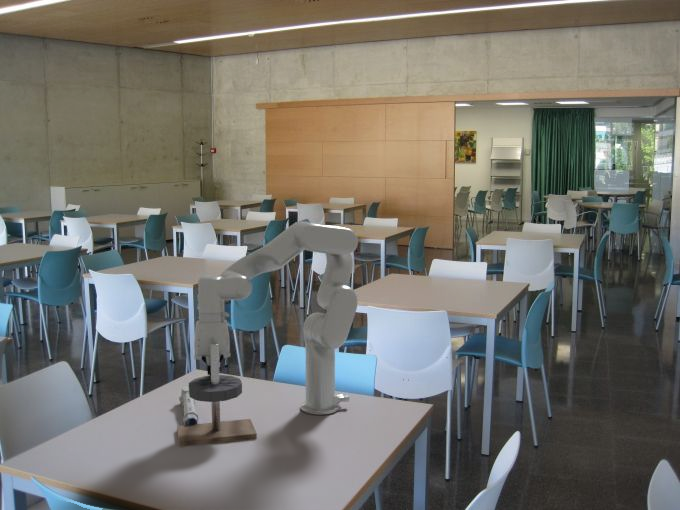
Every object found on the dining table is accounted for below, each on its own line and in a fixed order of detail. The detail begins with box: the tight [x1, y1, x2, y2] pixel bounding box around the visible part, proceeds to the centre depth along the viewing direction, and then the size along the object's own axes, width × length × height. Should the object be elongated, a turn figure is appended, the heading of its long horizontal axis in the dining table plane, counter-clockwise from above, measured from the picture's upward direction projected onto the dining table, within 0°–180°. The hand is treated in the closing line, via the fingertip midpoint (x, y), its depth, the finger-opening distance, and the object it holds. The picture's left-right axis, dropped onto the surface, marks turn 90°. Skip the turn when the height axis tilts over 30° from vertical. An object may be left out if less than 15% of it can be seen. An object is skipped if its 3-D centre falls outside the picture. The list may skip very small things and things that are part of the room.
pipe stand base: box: [176, 418, 258, 448], centre depth 208 cm, size 22×12×2 cm, turn 106°
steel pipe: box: [210, 343, 221, 431], centre depth 206 cm, size 3×3×26 cm
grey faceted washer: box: [188, 374, 243, 403], centre depth 206 cm, size 15×15×3 cm
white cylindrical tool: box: [178, 385, 199, 425], centre depth 224 cm, size 5×7×25 cm
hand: (212, 376), depth 212 cm, fingers closed
